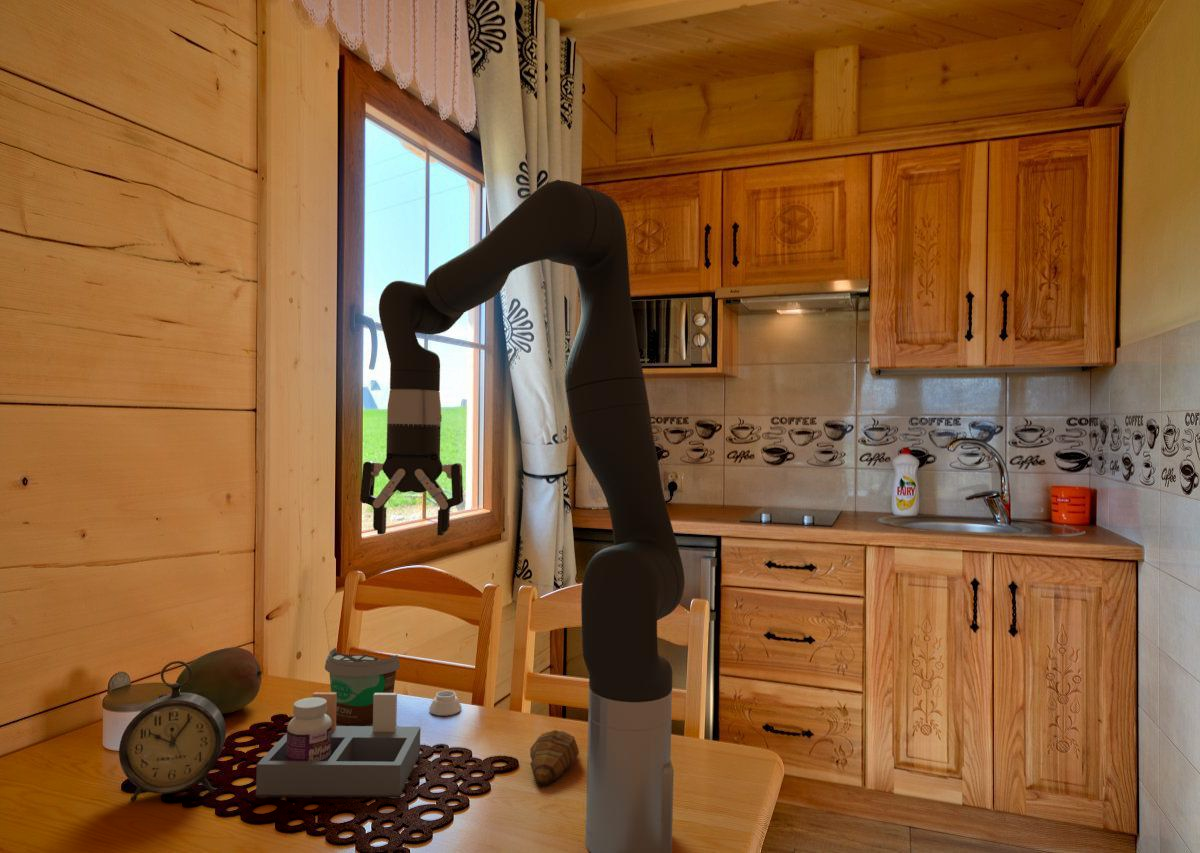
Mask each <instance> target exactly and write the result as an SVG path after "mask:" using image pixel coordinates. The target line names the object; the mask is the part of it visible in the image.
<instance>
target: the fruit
mask: <svg viewBox="0 0 1200 853" xmlns="http://www.w3.org/2000/svg"><path fill="white" fill-rule="evenodd" d="M188 665H189V666H190V668H191V670H192V675H191V678H190V680H189V682H188V683H187V684H185V685H184V686H181V687H180V688H179V689H180V693H193V694H197V695H200V696H202V697H205V698H206V699H208V700H210V701H211V702H212V703H213V704H214V705H216V707H217V708H218V709H219V710H220V712H221V714H222V715H224V714H231V713H233V712H237V711H239V710H241V709H243V708H245V707H247V706H248V705H249V704H251V702H253V701H254V700H255V699H256V697H257V696H258V694H259V691H260V688H261V685H262V678H263V677H262V670H261V665H260V663H259V660H257V658H256V656H255V655H254V653H252V652H251V651H250V650H248V649H246V648H242V647H237V646H236V647H232V646H231V647H226V648H225V647H224V648H221V649H217V650H213V651H210V652H207V653H205V654H204V655H201V656H200V657H197V658H196V659H195V660H193V661H192V662H190V663H189V664H188ZM188 677H189V670H188V669H187V667H186V666H185V668H184V669H183V670H181V672H180V674H179V676H178V677H177V678H176V681H175V683H179V684H180V685H181V684H183V683H184V682H186V680H187V679H188Z"/></svg>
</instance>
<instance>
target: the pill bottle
mask: <svg viewBox="0 0 1200 853" xmlns="http://www.w3.org/2000/svg"><path fill="white" fill-rule="evenodd" d="M292 708H293V709H292V710H293V713H292V714H293V716H294V717H292V718H291V720H289V722H288V724H287V729H286V731H287V732H286V733H287V754H286V761H328V760H329V758H330V757H331V736H332V721H331V718H330V717H329V716H328V715H327V714H325V713H326V710H327V701H326V699H324V698H320V697H313V696H312V697H304V698H301V699H298V700H296V701H295V702H294V703H293V707H292Z"/></svg>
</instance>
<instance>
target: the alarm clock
mask: <svg viewBox="0 0 1200 853" xmlns="http://www.w3.org/2000/svg"><path fill="white" fill-rule="evenodd" d="M176 664H179V665H183V666H185V668H186V667H187V669H188V670H189V677H188V679H187V680H186V682H184V683H183V684H181V685H180V684H179V683H176V682H174V683H172V684H169V683H167V681H166V680H165V678H164V677H165V676H164V675H165V671H166V669H167V668H168V667H170V666H172V665H176ZM191 675H192V670H191V668H190V666H189V664H188V663H187V662H184V661H181V660H174V661H171V662H169V663H167V664H166V665H165V666H164V667H163V668H162V669H161V672H160V679H161V682H162V683H163V684H164V685H165V686H167V687H168V688H170V689H171V693H170V694H166V695H163V696H161V697H159V698H157V699H155V700H153V701H152V702H150V703H149V704H148V705H146V706H145V707H144V708H143V709H141V711H140V712H139V713H138V714H137V715H135V717H133V718H132V720H131V721H130V722H129V723H128V725H127V726H126V728H125V729H124V731H123V733H122V736H121V739H120V743H119V748H118V756H119V758H118V759H119V764H120V767H121V769H122V771H123V773H124V775H125V777H126V778H127V779H128V780H129V782H131V783H132V784H133V785H134V786H136V787H137V788H136V790H135V792H134V793H133V795H132V796H130V801H131V802H134V801H136V800H137V798H138V797H139V795H140V794H142V793H143V791H146V792H148V793H153V794H159V795H161V794H162V795H167V794H173V793H175V794H176V793H179V792H182V791H185V790H187V789H190V788H191V787H193V786H195V785H196V784H198V783H199V782H200V783H201V785H202V786H203V787H205V788H206V789H207V790H208V793H213V792H214V790H215V788H214V786H212V785H211V783H210V781H209V779H208V778H207V777H206V776H207V775H208V774H209V773H210V771H211V770H212V769H213V767H214V766H215V764H216V763H217V760H218V759H219V756H220V755H221V753H222V751H223V749H224V746H225V743H226V742H225V741H226V737H227V727H226V722H225V719H224V716H223V714H221V712H220V710H219V709H218V708H217V707H216V705H214V704H213V703H212V702H211V701H210V700H208V699H206V698H205V697H202V696H200V695H197V694H193V693H180V692H179V688H180V687H181V686H184V685H185V684H187V683H188V682H189V680H190V678H191Z"/></svg>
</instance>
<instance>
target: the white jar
mask: <svg viewBox="0 0 1200 853" xmlns="http://www.w3.org/2000/svg"><path fill="white" fill-rule="evenodd" d="M462 708H463V707H462V704H461V703H460V700H459V698H458V697H457V695H456V692H455V691H453V690H440V691H438V692H436V694H435V697H434V698H433V700H432V701H431V704H430V705H429V708H428V711H429V713H431V714H432V715H434V716H435V715H436V716H439V717H442V716H443V717H447V716H452V715H455V714H457V713H459V712H460V711H461V710H462Z"/></svg>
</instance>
